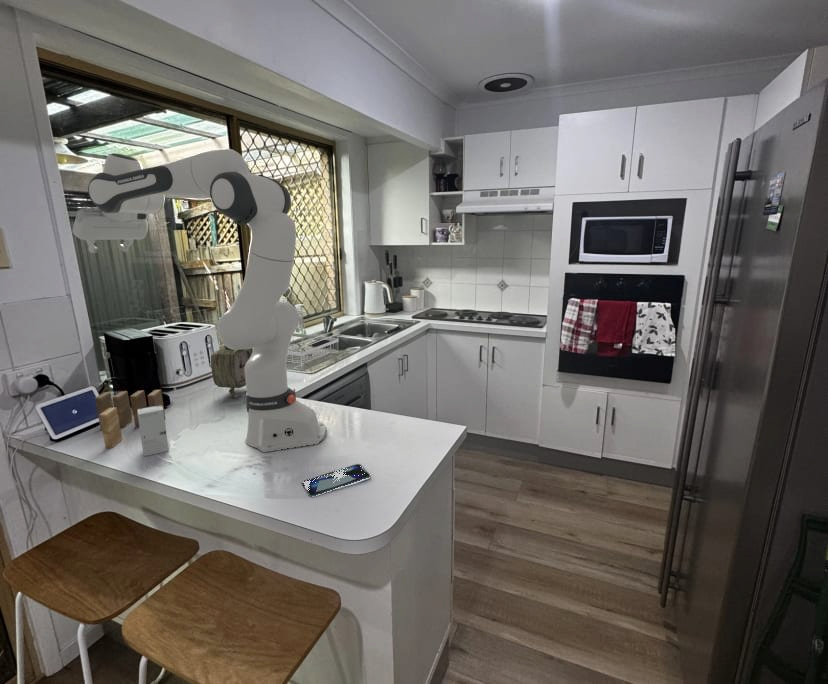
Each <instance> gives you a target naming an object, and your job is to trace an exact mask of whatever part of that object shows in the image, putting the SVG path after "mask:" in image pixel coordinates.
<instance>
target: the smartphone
mask: <svg viewBox="0 0 828 684" xmlns="http://www.w3.org/2000/svg"><path fill="white" fill-rule="evenodd" d="M360 466H361V467H360ZM362 467H363V468H362ZM343 468H345V469H343ZM343 468H340V469H341V470H342V469H343V470H344V472H343V473H344V474H345V473H346V474H345V475H347V476H345V477H344V476H343V477H344V478H343V477H342V478H340V479H339V480H340V481H339V480H338V479H337V478H338V477H336V478H335V479H334V476H335V475H334V476H333V477H332V476H331V475H333V473H334V472H335V471H336V470H334V472H333V471H330V472H328V473H323V474H320V475H318V476H314V477H315V478H316V479H315V478H314V477H311V478H312V479H311V478H308V479H309V480H310V479H311V480H310V481H311V482H310V484H309V485H310V486H309V487H310V488H309V487H308V488H309V489H310V490H309V489H308V490H309V491H308V490H307V492H306V493H308V494H309V495H308V494H307V495H308V497H310V496H316V495H318V494H322V493H324V492H327V491H330V490H333V489H335V488H338V487H341V486H345V485H348V484H351V483H354V482H357V481H360V480H362V479H366V478H369V477H370V478H371V473H369V472H368V471H367V469H366V468H365V467H364V466H363V464H359V463H356V464H352V465H350V466H346V467H343ZM346 468H347V469H348V470H347V469H346ZM338 470H339V469H338ZM361 470H362V471H361ZM345 471H346V472H345ZM336 472H337V471H336ZM339 472H340V470H339ZM341 472H342V471H341ZM337 473H338V472H337ZM364 473H365V474H364ZM327 474H328V475H327ZM330 474H331V475H330ZM334 474H335V473H334ZM339 474H340V473H339ZM344 474H343V475H344ZM362 474H363V475H362ZM324 475H325V476H324ZM348 475H349V476H348ZM354 475H355V476H354ZM358 475H359V476H358ZM319 476H320V477H319ZM321 476H322V477H321ZM327 476H328V477H327ZM318 477H319V478H318ZM326 477H327V478H326ZM317 478H318V479H317ZM308 479H305V480H303V481H304V482H305V481H306V480H307V481H309V480H308ZM314 479H315V480H314ZM333 479H334V480H333ZM336 479H337V480H338V481H337V480H336ZM313 480H314V481H313ZM335 480H336V481H335ZM312 481H313V482H312ZM334 481H335V482H334ZM315 482H316V483H315ZM333 482H334V483H333ZM303 484H304V483H303ZM304 486H305V485H304ZM322 495H323V494H322ZM316 497H317V496H316Z"/></svg>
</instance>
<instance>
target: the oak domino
mask: <svg viewBox="0 0 828 684" xmlns="http://www.w3.org/2000/svg"><path fill="white" fill-rule="evenodd" d="M99 417H100V422H101V427H102V436H103V441H104V447H105V449H113V448H114V447H115V446H117V445H118V444H119V443H120V442H121V441H123V436H122V429H121V428H120V424H119V419H118V414H117V408H116V407H115V408H114V407H113V408H108V409H107V410H105V411H104V412H103V413H101V414H100V415H99ZM117 443H118V444H117ZM116 444H117V445H116Z"/></svg>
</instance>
